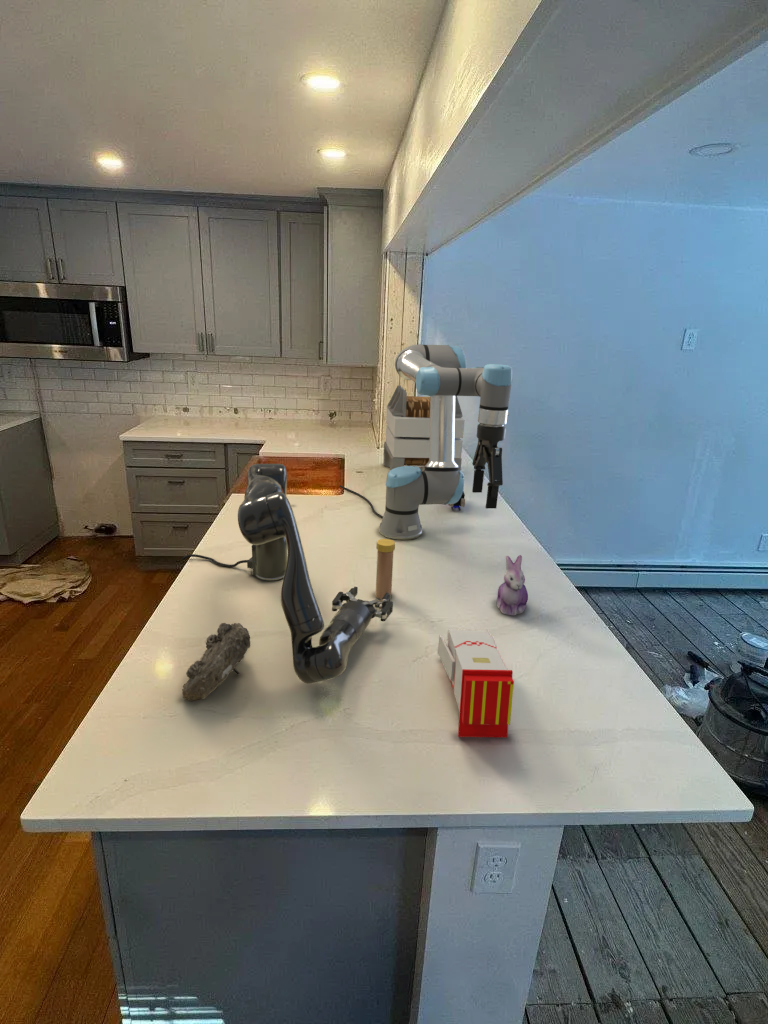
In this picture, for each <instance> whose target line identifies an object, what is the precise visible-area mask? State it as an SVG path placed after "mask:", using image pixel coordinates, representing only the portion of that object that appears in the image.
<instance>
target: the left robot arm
mask: <svg viewBox="0 0 768 1024" xmlns="http://www.w3.org/2000/svg"><path fill="white" fill-rule="evenodd" d="M287 493H288V471H287V468H286V466H285V465H284V464H283V463H255V464H252V465H250V466H249V467H248V470H247V473H246V488H245V492H244V497H243V498H244V499H243V501H242V502H241V504H240V505H239V507H238V510H237V524H238V527H239V531H240V534H241V535H242V537H243V539H245V541H246V542H247V543H249V544H250V545H251V557H250V558H249V559H242V560H238V561H236V562H235V563H234V564H228V563H224V562H223V563H222V562H219V561H217V560H216V559H214V558H213V557H209V556H206V555H201V554H197V553H195V554H194V553H192V554H186V555H184V556H183V557H181V560H182V561H185V560H186V559H188V558H199V559H203V560H208V561H211V562H212V563H214V564H216V565H217V566H221V567H225V568H235V567H237V566H238V565H241V564H244V563H246V567H247V569H250V570H251V569H252V576H254V577H256V578H257V579H259V580H261V581H267V582H268V581H269V582H270V581H271V582H274V581H279V580H282V583H281V589H280V603H281V608H282V611H283V614H284V618H285V621H286V623H287V625H288V629H289V631H290V641H291V653H292V663H293V664H292V665H293V669H294V673H295V675H296V676H297V678H298V679H299V681H301V682H302V683H304V684H307V685H310V684H311V685H312V684H316V683H320V682H323V681H328V680H332V679H336V678H338V677H339V676H341V675H342V674H343V673H344V672H345V671H346V668H347V665H348V659H349V655H350V651H351V649H352V647H353V646H354V645H355V643H356V642H357V641H358V640H359V639H360V638H361V636H362V635H363V634H364V632H365V630H366V629H367V627H368V626H369V624H370V623H371V621H372V619H374V618H379V619H380V622H386V621H387V620H388V618H389V617H390V615H392V613H393V610H394V601H392V600H391V597H392V595H391V596H390V595H389V593H386V594H385V595H384V596H383V598H382V599H378V598H376V599H371V600H363V599H360V598H358V599H357V598H356V596H357V595H358V592H359V591H358V589H359V588H358V586H354V587H351V588H350V589H349V590H348V591H346V592H344V591H338V592H337V594H336V595H335V597H333V599H332V601H331V611H332V612H336V613H335V614H334V615H333V617H332V619H331V620H330V622H329V624H328V625H327V627H326V628H325V622H324V617H323V615H322V612H321V610H320V607H319V604H318V601H317V597H316V595H315V592H314V589H313V585H312V581H311V578H310V577H311V576H310V573H309V569H308V564H307V561H306V560H307V559H306V555H305V551H304V546H303V542H302V539H301V535H300V530H299V527H298V523H297V520H296V519H297V518H296V516H295V513H294V510H293V507H292V505H291V503H290V501H289V498H288V496H287ZM343 602H344V603H343ZM324 628H325V629H324ZM322 631H323V632H322ZM321 632H322V633H321ZM319 633H321V635H320V636H319V640H318V645H316V646H313V637H314V636H316V635H318V634H319Z"/></svg>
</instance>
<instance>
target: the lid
mask: <svg viewBox="0 0 768 1024" xmlns="http://www.w3.org/2000/svg"><path fill="white" fill-rule="evenodd" d="M395 549H396V542H395V540H394V539H390V538H380V539H377V540H376V551H377V550H378V551H381V552H392V551H395Z"/></svg>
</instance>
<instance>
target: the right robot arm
mask: <svg viewBox="0 0 768 1024" xmlns="http://www.w3.org/2000/svg"><path fill="white" fill-rule="evenodd" d="M467 366H468V365H467V358H466V355H465V352H464V351H463V349H462V348H461V347H460V346H459V345H451V344H450V345H449V344H422V343H419V344H412V345H408V346H407V347H405V348H403V349H401V350H400V351H399V352H398V354H397V355H396V357H395V360H394V368H395V371H396V372H397V374H398V375H399V376H400V378H402V379H404V380H407V381H412V382H414V383H415V388H416V392H417V394H419V395H420V396H426V397H430V454H429V462H428V463H427V464H426V465H425V466H424V470H423V471H422V469H421V467H420V466H407V465H404V466H402V467H397V468H394V469H392V470H390V469H389V470H388V472H387V475H386V480H385V504H384V505H385V507H384V508H385V509H384V513H383V515H382V514H380V513H378V512H377V511H376V510H375V508H374V506H373V504H372V502H371V501H370V500H369V499H368V498H367V497H365V496H364V495H362V494H360V493H358V492H356V491H354V490H352V489H350V488H347V487H345V486H343V485H342V484H341V485H339V488H341V489H343V490H345V491H348V492H350V493H352V494H354V495H357V496H359V497H360V498H362V499H364V500H365V501H366V502H367V503H368V504H369V505H370V508H371V511H372V512H373V513H374V515H376V516H378V517H379V518H381V522H379V526H378V533H379V534H380V535H381V536H382V537H385V538H386V539H391V540H394V541H410V540H415V539H418V538H420V537H421V536H422V535H423V525H422V524H421V518H420V515H419V507H420V506H422V505H423V506H424V505H425V506H426V505H428V506H429V505H448V504H454V503H456V502H458V501H459V499H460V498H461V496H462V493H463V491H464V486H465V478H464V477H465V475H464V473H463V472H462V470H461V471H459V470H458V465H457V464H456V463H455V462H454V438H455V396H457V397H480V399H479V407H478V415H477V416H478V417H477V422H478V424H477V429H476V438H477V445H476V449H475V451H474V456H473V459H472V462H471V465H472V466H473V470H474V471H473V480H472V490H471V492H472V493H474V494H475V493H477V494H478V493H481V494H482V493H483V486H484V475H485V470H486V464H487V470H488V473H487V474H488V480H489V482H487V483H486V484H487V491H486V500H485V501H486V502H485V509H497V507H498V506H497V505H498V495H499V490H500V489H499V487H501V486H503V484H504V482H503V481H504V479H503V478H504V477H503V448H502V447H499V442H503V441H504V440H505V439H506V433H507V426H506V425H507V420H508V417H509V415H510V412H509V405H510V398H511V391H512V388H511V387H512V383H513V368H512V366H510V365H507V364H500V363H488V364H485V365H484V366H475V367H467Z"/></svg>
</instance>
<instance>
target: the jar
mask: <svg viewBox="0 0 768 1024" xmlns="http://www.w3.org/2000/svg"><path fill="white" fill-rule="evenodd" d="M376 551H377V553H376V572H375V597H376V599H378V600H381V599H382V598H383V596H384V595H385V594H386V593H389V595H390V596H391V597H392V590H393V589H392V587H393V586H392V585H393V570H394V551H395V550H394V551H392V552H381V551H378V550H377V549H376Z"/></svg>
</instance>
